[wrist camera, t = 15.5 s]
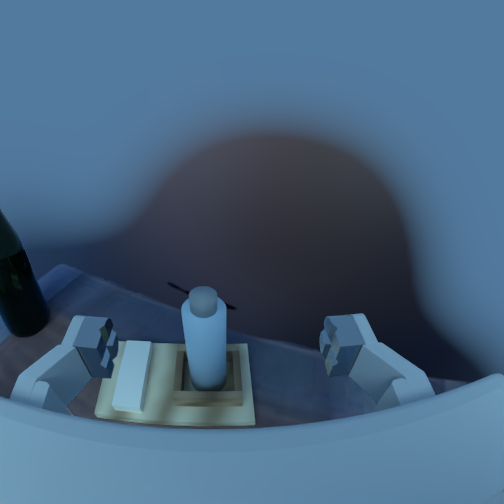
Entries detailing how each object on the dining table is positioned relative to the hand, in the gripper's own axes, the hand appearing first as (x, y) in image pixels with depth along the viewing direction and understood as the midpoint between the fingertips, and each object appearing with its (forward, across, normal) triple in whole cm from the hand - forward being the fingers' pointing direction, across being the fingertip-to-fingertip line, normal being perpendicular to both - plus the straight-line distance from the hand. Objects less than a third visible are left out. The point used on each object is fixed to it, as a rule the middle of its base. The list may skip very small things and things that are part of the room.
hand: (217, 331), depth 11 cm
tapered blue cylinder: (+17, +2, +29) cm, 34 cm away
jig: (+17, +7, +30) cm, 35 cm away
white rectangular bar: (+17, +13, +29) cm, 36 cm away
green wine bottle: (+28, +39, +30) cm, 57 cm away
